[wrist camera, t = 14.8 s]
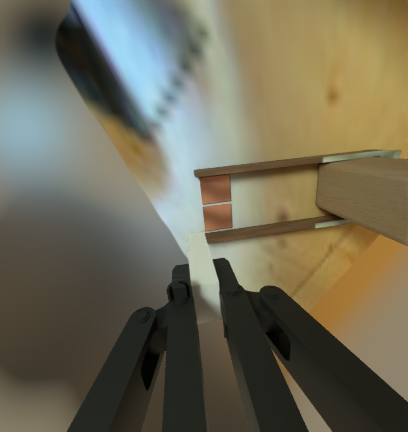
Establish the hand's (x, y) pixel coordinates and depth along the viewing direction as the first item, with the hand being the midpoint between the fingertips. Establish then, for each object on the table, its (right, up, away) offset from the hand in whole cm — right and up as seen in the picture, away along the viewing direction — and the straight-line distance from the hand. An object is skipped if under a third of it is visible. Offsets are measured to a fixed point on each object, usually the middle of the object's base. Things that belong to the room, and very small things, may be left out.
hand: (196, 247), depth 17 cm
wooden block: (+30, +10, +27) cm, 41 cm away
